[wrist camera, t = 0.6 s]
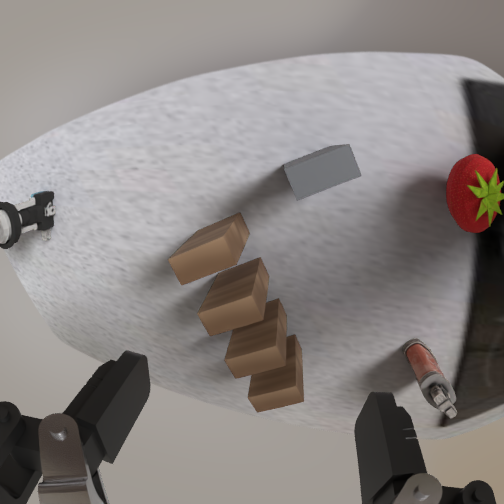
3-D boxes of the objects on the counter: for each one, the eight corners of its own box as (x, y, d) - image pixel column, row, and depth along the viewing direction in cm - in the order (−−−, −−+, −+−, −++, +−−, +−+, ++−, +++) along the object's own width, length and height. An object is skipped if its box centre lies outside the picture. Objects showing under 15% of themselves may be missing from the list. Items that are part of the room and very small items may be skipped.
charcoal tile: (284, 164, 29) (284, 169, 21) (330, 145, 28) (349, 144, 20) (293, 186, 30) (297, 200, 21) (339, 168, 29) (361, 175, 20)
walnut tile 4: (197, 230, 32) (167, 259, 24) (240, 212, 31) (223, 236, 23) (207, 250, 33) (181, 285, 25) (249, 233, 32) (236, 264, 23)
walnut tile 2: (238, 311, 35) (224, 360, 27) (278, 298, 34) (276, 345, 25) (246, 328, 36) (235, 378, 27) (286, 315, 35) (285, 365, 26)
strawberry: (424, 217, 29) (471, 245, 20) (429, 148, 27) (481, 151, 17) (465, 221, 29) (516, 248, 19) (471, 156, 26) (527, 164, 17)
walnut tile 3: (218, 273, 34) (197, 313, 25) (260, 257, 33) (251, 295, 24) (227, 291, 34) (210, 336, 26) (269, 276, 33) (263, 319, 25)
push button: (64, 239, 35) (13, 266, 25) (38, 235, 35) (-12, 259, 26) (61, 188, 33) (5, 205, 23) (35, 188, 33) (-19, 203, 23)
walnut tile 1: (256, 346, 36) (247, 397, 28) (295, 334, 35) (296, 386, 27) (263, 360, 37) (257, 412, 29) (301, 349, 36) (303, 401, 27)
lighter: (397, 349, 35) (421, 403, 25) (418, 333, 34) (447, 384, 24) (422, 378, 36) (445, 428, 27) (441, 364, 35) (467, 412, 26)
